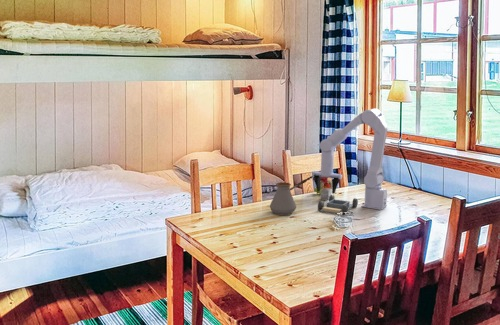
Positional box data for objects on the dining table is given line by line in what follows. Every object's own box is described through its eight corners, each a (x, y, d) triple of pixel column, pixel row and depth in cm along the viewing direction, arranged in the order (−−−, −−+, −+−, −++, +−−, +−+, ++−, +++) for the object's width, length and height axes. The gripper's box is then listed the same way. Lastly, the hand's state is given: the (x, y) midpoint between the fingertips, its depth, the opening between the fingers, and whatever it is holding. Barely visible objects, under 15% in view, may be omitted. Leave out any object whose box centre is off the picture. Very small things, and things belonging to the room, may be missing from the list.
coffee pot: (278, 218, 212) (278, 183, 209) (264, 211, 222) (265, 177, 219) (320, 211, 221) (321, 178, 219) (305, 205, 231) (306, 173, 229)
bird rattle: (323, 196, 257) (309, 190, 253) (331, 175, 257) (318, 170, 253) (330, 199, 252) (316, 193, 247) (338, 178, 252) (325, 172, 247)
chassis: (332, 202, 237) (332, 194, 236) (358, 206, 231) (358, 197, 230) (317, 211, 222) (317, 202, 221) (344, 215, 216) (344, 206, 215)
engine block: (331, 198, 244) (331, 188, 243) (328, 200, 240) (328, 190, 239) (323, 197, 246) (324, 187, 245) (320, 199, 242) (320, 189, 241)
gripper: (344, 164, 239) (343, 192, 242) (316, 161, 247) (315, 188, 249) (339, 166, 233) (338, 195, 236) (310, 163, 241) (309, 191, 243)
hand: (326, 192), depth 242 cm, fingers open, 7 cm apart
